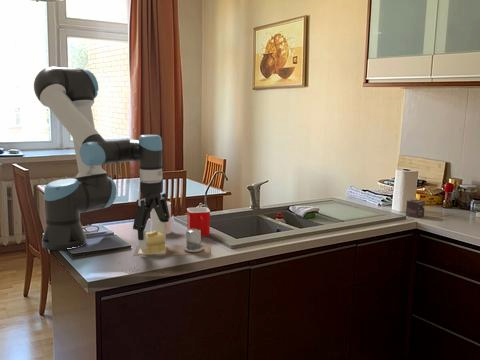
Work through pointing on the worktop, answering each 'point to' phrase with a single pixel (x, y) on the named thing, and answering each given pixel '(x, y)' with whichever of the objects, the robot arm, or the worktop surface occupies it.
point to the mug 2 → (199, 219)
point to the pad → (152, 253)
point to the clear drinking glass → (193, 241)
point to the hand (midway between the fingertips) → (152, 244)
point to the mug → (155, 221)
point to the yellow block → (154, 242)
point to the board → (178, 251)
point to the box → (415, 208)
